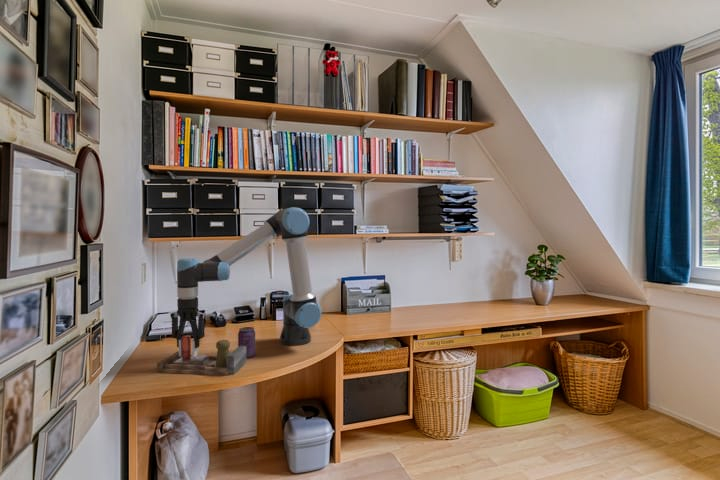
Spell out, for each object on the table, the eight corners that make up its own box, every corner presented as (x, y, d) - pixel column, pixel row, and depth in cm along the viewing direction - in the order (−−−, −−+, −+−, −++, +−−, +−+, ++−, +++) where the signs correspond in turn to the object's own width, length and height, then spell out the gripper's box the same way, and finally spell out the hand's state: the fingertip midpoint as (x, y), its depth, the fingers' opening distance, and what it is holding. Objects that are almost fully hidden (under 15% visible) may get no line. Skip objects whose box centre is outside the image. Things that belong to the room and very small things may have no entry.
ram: (210, 360, 155) (210, 334, 155) (200, 367, 147) (200, 340, 147) (184, 359, 156) (184, 333, 156) (173, 366, 148) (173, 339, 148)
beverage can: (245, 352, 169) (245, 326, 168) (258, 354, 166) (258, 327, 166) (234, 357, 162) (234, 330, 162) (248, 360, 160) (248, 331, 159)
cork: (212, 370, 148) (211, 342, 148) (220, 364, 154) (219, 337, 154) (226, 371, 147) (226, 343, 147) (234, 365, 153) (233, 338, 153)
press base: (247, 362, 157) (247, 345, 157) (232, 375, 143) (232, 357, 143) (178, 359, 160) (177, 343, 160) (157, 372, 146) (156, 354, 146)
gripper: (214, 296, 154) (214, 353, 155) (171, 295, 156) (172, 351, 156) (204, 299, 147) (205, 359, 147) (160, 298, 148) (161, 357, 149)
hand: (188, 355), depth 152 cm, fingers closed on ram, 5 cm apart
